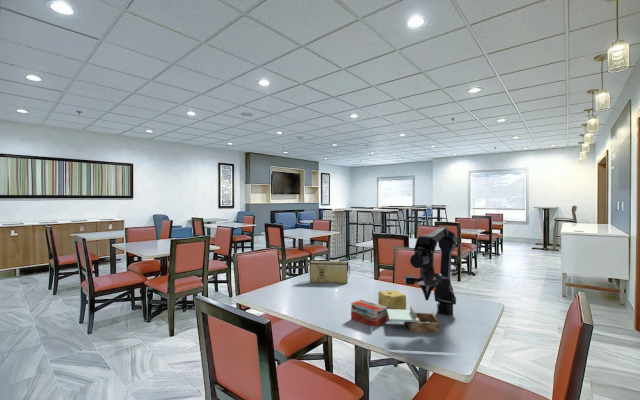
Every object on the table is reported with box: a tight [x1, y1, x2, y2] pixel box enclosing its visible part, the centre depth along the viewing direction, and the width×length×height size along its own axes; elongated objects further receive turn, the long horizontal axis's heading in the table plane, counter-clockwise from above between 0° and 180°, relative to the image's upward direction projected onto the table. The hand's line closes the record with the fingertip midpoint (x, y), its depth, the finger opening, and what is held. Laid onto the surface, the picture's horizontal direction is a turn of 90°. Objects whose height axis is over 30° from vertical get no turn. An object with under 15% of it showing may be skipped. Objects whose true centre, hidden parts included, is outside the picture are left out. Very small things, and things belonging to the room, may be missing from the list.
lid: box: [387, 305, 419, 323], centre depth 134 cm, size 12×12×3 cm
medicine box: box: [350, 299, 388, 327], centre depth 142 cm, size 15×8×8 cm, turn 46°
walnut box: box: [406, 312, 441, 334], centre depth 133 cm, size 12×12×5 cm
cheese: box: [377, 289, 407, 317], centre depth 152 cm, size 10×11×10 cm
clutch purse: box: [306, 260, 351, 284], centre depth 211 cm, size 30×7×15 cm, turn 84°
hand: (426, 300), depth 133 cm, fingers closed
